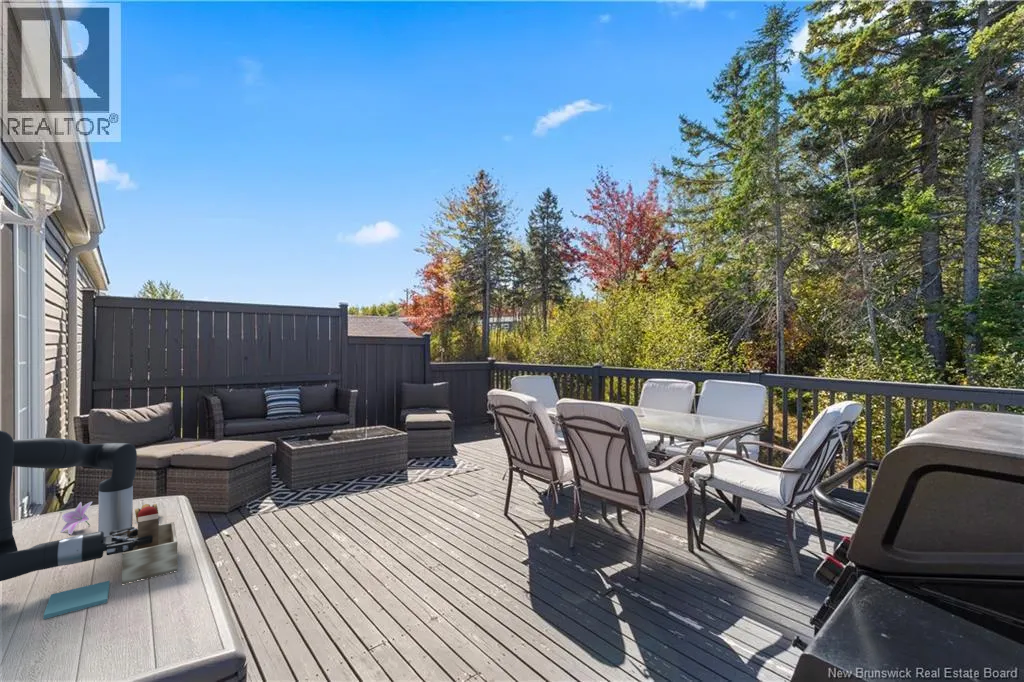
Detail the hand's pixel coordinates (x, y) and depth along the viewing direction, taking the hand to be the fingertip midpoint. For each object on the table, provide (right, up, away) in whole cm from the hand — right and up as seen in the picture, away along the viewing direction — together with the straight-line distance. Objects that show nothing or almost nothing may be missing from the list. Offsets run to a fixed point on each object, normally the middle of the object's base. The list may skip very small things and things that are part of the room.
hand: (152, 534), depth 142 cm
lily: (-48, -10, +26) cm, 56 cm away
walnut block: (-1, -7, -1) cm, 7 cm away
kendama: (-33, -10, +38) cm, 51 cm away
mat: (-4, -9, -20) cm, 22 cm away
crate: (0, -10, 0) cm, 10 cm away
